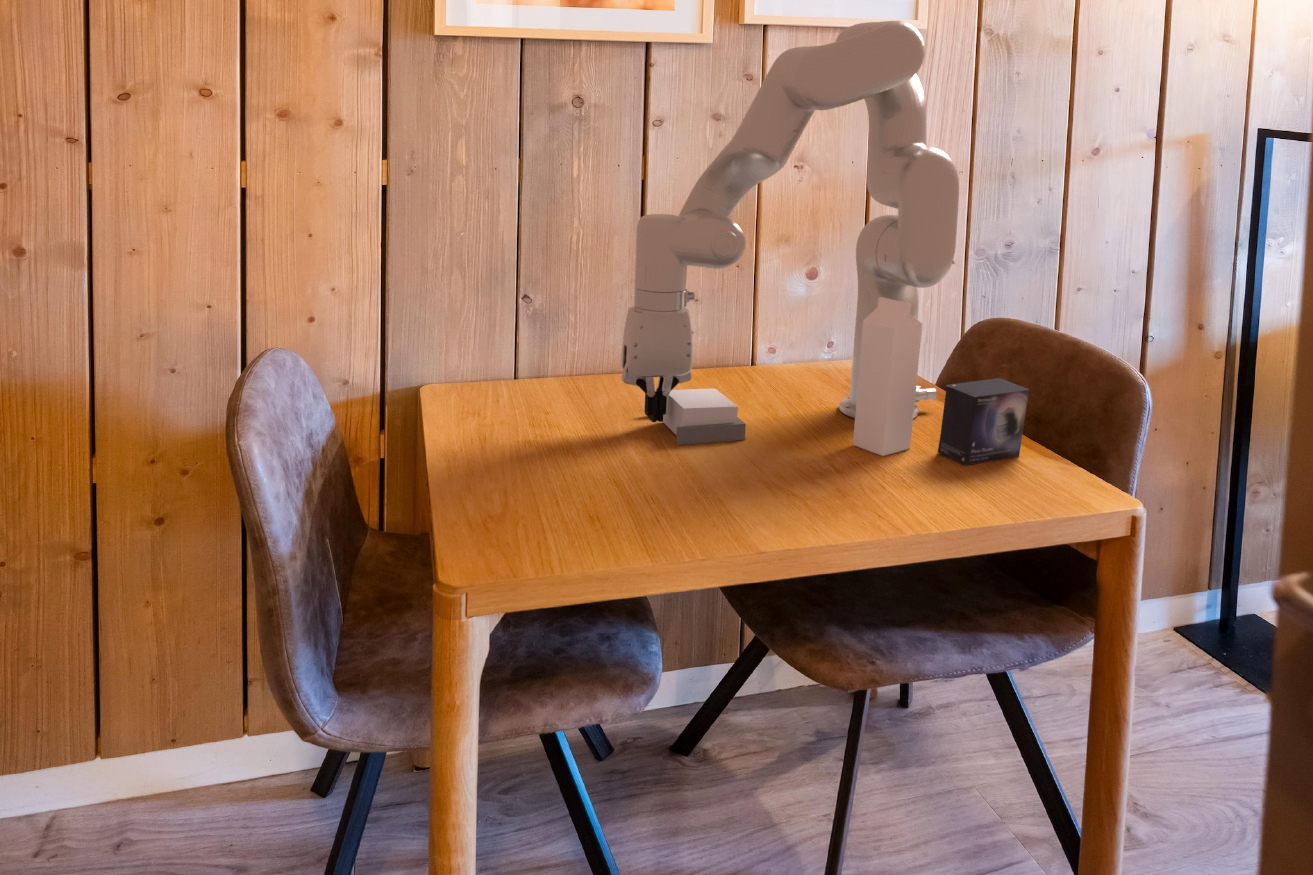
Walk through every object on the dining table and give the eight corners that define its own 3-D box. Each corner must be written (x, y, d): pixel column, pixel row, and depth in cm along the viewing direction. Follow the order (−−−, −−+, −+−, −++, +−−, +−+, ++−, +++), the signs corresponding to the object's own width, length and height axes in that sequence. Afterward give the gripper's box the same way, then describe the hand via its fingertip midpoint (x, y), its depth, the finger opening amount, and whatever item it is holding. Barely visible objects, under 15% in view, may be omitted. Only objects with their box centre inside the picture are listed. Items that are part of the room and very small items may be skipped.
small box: (967, 467, 151) (975, 396, 147) (935, 453, 156) (943, 384, 153) (1022, 457, 155) (1031, 387, 152) (989, 443, 161) (998, 376, 158)
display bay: (711, 410, 174) (711, 396, 173) (744, 439, 160) (745, 423, 160) (649, 415, 171) (649, 400, 170) (678, 445, 157) (678, 428, 157)
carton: (713, 418, 170) (715, 388, 169) (735, 438, 161) (737, 406, 159) (662, 420, 168) (663, 390, 166) (681, 440, 159) (683, 408, 157)
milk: (882, 456, 154) (896, 306, 147) (851, 445, 159) (863, 298, 152) (911, 448, 158) (925, 301, 151) (879, 437, 162) (892, 294, 155)
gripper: (699, 294, 163) (693, 410, 169) (604, 296, 159) (601, 414, 164) (716, 304, 156) (709, 424, 162) (617, 306, 152) (613, 429, 158)
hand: (654, 419), depth 163 cm, fingers closed
